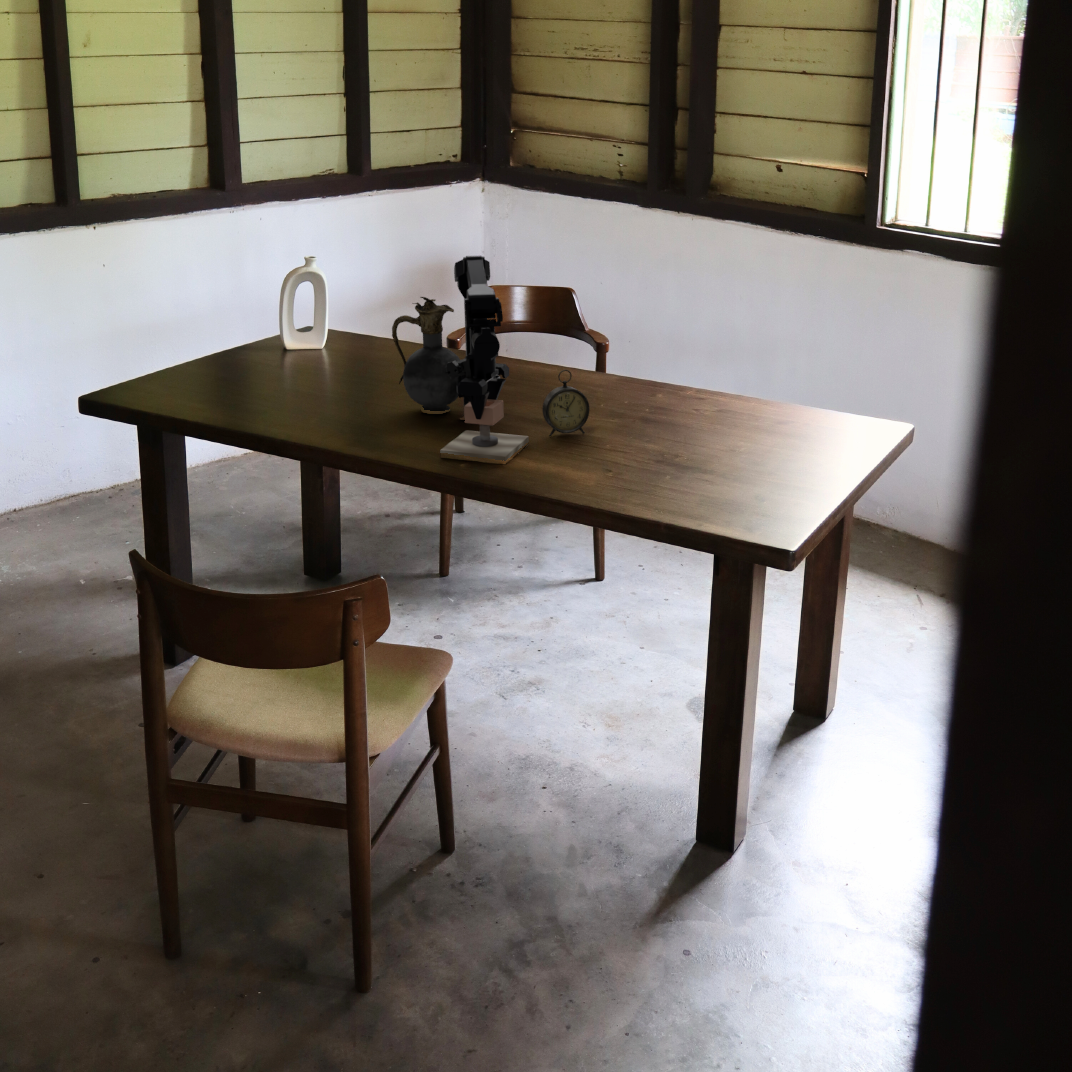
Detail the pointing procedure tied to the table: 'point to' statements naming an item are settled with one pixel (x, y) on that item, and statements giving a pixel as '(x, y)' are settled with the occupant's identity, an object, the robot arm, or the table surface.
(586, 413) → the alarm clock
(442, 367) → the pitcher
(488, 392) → the robot arm
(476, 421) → the collar
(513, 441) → the post stand
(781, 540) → the table surface
